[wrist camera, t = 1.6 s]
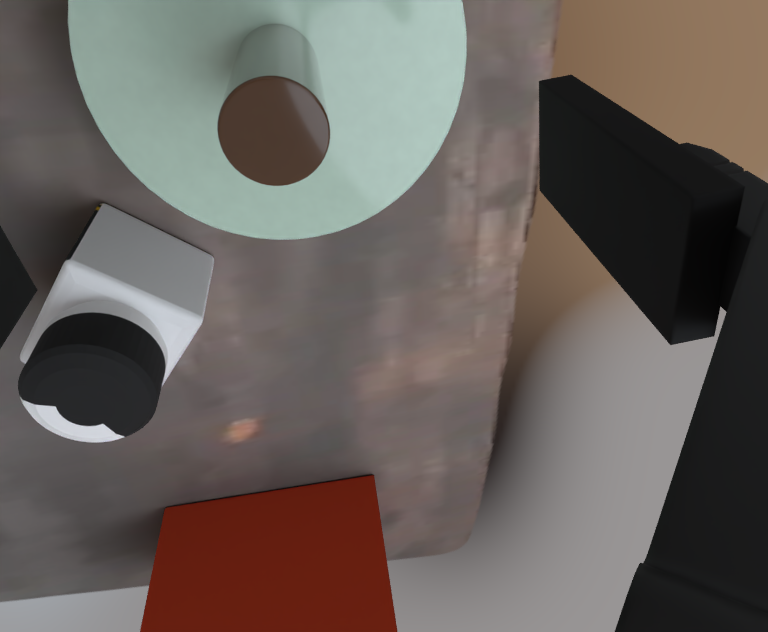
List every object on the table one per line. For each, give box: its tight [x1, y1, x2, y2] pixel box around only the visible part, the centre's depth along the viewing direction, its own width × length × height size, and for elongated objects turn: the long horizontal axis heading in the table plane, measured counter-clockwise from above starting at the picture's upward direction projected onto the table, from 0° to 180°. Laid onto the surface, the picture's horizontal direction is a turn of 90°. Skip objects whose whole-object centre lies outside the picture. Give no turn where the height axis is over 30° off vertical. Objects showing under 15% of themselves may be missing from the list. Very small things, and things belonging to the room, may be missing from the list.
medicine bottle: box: [18, 203, 214, 442], centre depth 33 cm, size 7×7×12 cm
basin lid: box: [68, 0, 467, 240], centre depth 21 cm, size 15×15×9 cm
